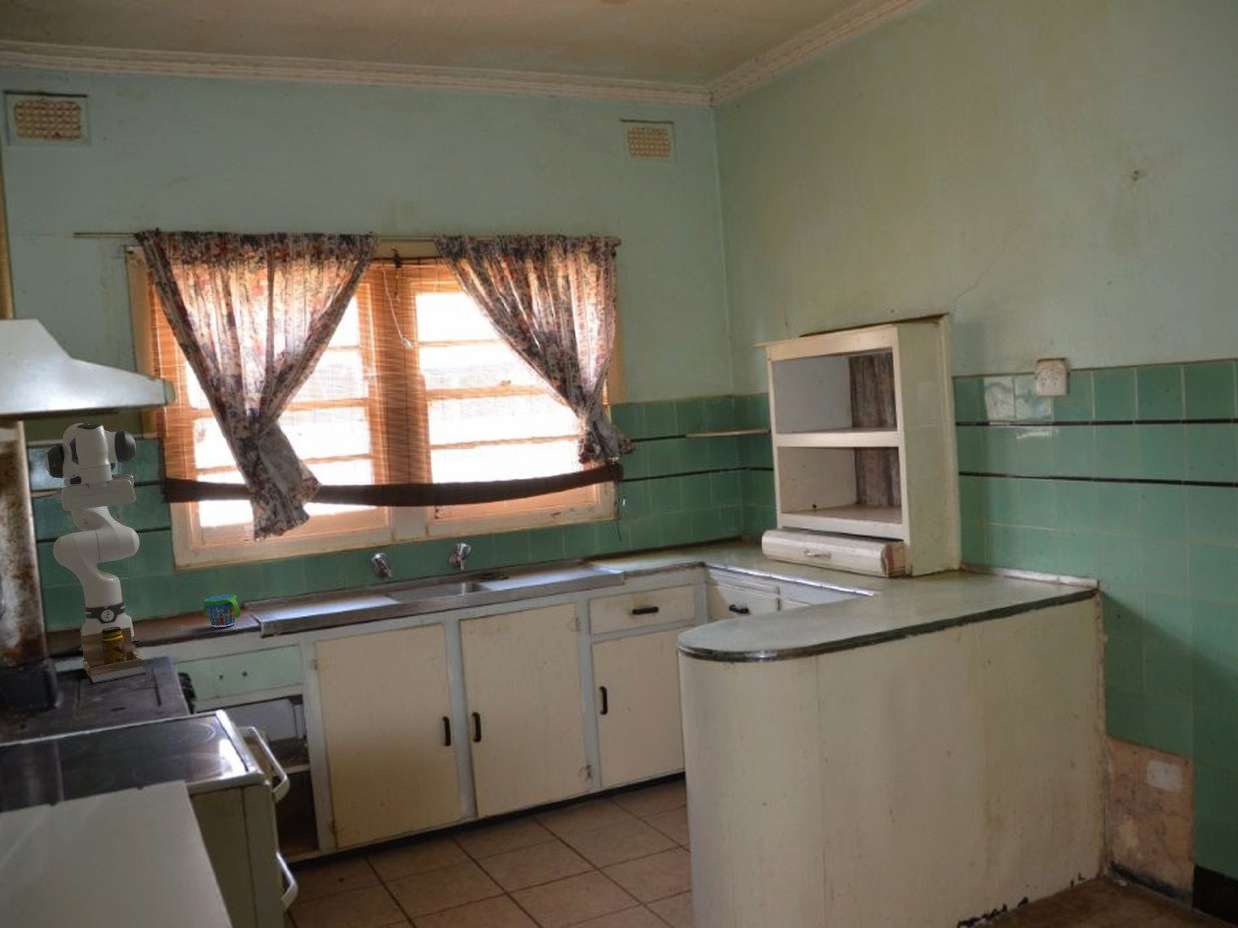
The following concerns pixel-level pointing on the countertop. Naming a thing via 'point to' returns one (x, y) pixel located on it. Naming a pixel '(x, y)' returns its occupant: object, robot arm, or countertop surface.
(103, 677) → the mat
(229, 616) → the snack cup
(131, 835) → the countertop surface
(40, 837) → the countertop surface
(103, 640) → the condiment
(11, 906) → the countertop surface
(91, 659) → the carton
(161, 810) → the countertop surface
